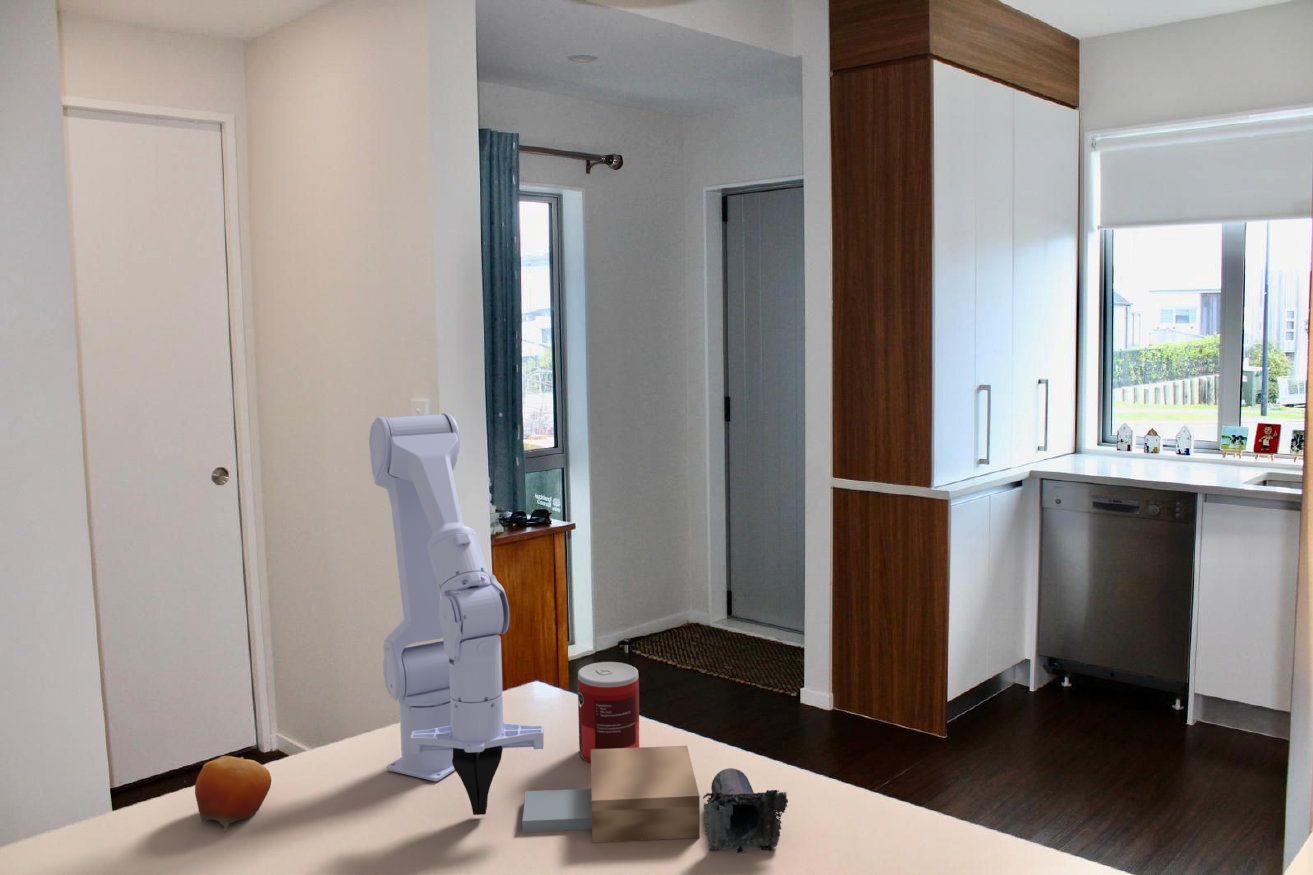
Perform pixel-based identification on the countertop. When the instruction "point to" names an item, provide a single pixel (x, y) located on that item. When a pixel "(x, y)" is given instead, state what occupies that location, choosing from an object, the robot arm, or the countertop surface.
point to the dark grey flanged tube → (742, 814)
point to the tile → (557, 810)
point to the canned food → (608, 707)
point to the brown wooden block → (643, 794)
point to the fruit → (231, 789)
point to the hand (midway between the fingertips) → (480, 810)
